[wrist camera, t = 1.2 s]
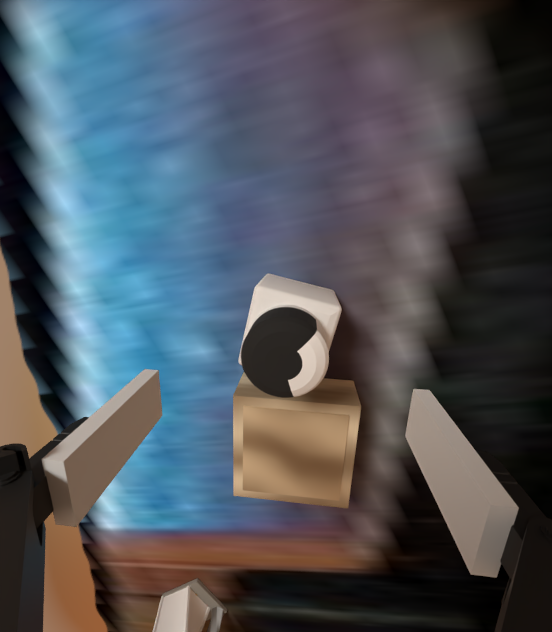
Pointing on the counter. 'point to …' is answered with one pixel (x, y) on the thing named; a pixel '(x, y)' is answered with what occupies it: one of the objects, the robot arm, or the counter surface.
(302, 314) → the medicine bottle
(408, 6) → the counter surface
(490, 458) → the robot arm
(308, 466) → the base block
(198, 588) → the skyscraper
